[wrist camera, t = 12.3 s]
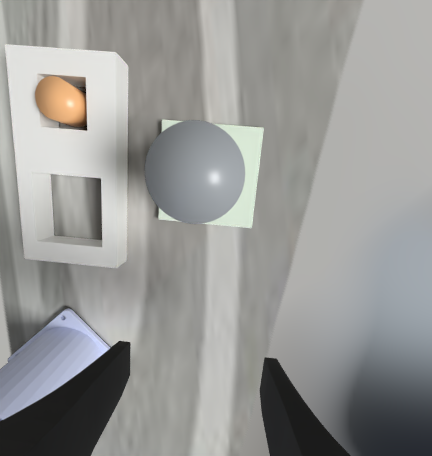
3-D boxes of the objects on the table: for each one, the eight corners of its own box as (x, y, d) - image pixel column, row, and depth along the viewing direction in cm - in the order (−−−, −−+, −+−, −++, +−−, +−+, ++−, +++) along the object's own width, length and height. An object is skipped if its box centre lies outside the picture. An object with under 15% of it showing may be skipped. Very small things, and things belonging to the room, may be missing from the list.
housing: (127, 260, 21) (116, 268, 19) (42, 251, 21) (24, 258, 20) (128, 66, 18) (115, 52, 16) (28, 59, 18) (4, 44, 16)
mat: (251, 226, 20) (251, 228, 19) (160, 218, 20) (158, 219, 20) (262, 129, 18) (263, 127, 18) (163, 121, 19) (162, 119, 18)
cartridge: (202, 215, 19) (188, 242, 12) (165, 169, 19) (123, 165, 11) (248, 179, 19) (265, 183, 11) (211, 130, 18) (202, 96, 10)
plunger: (93, 128, 18) (74, 121, 16) (59, 125, 19) (36, 118, 16) (92, 90, 18) (73, 77, 16) (57, 87, 18) (33, 74, 16)
